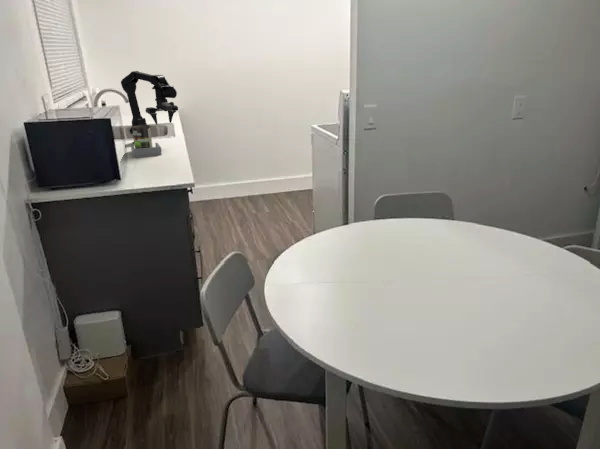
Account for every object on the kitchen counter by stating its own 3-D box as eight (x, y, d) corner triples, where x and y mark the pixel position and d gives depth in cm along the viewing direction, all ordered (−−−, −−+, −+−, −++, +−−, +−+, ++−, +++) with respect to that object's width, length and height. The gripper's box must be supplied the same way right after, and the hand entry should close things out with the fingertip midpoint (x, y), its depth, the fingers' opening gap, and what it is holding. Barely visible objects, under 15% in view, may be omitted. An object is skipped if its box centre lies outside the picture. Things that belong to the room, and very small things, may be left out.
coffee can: (144, 152, 271) (140, 128, 266) (131, 151, 275) (127, 127, 270) (157, 149, 279) (153, 125, 274) (144, 147, 284) (140, 124, 278)
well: (131, 153, 270) (130, 145, 269) (158, 150, 276) (157, 142, 274) (134, 157, 259) (133, 149, 258) (161, 154, 265) (160, 146, 263)
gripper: (152, 99, 267) (155, 127, 273) (181, 97, 279) (184, 123, 285) (143, 98, 274) (146, 124, 280) (172, 95, 286) (174, 121, 292)
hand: (163, 123), depth 284 cm, fingers open, 9 cm apart
